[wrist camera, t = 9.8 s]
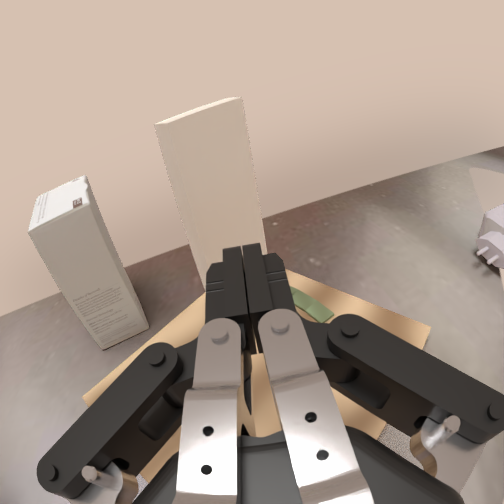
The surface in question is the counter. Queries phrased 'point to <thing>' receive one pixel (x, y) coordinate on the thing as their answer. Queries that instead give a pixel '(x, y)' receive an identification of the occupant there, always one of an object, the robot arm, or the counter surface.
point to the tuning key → (213, 179)
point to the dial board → (265, 415)
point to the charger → (492, 237)
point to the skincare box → (86, 263)
